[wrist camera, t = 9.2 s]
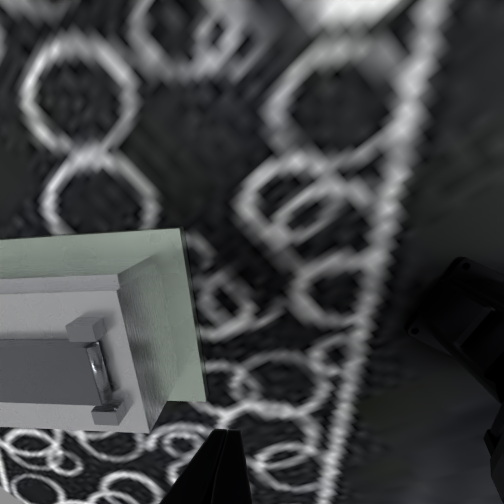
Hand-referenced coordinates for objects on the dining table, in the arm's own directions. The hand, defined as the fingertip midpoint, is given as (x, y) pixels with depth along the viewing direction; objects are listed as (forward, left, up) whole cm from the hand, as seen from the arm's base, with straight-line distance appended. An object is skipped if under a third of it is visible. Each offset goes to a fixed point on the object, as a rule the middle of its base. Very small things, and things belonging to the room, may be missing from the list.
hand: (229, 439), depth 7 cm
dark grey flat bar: (+13, +10, -6) cm, 17 cm away
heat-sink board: (+12, +10, -12) cm, 20 cm away
